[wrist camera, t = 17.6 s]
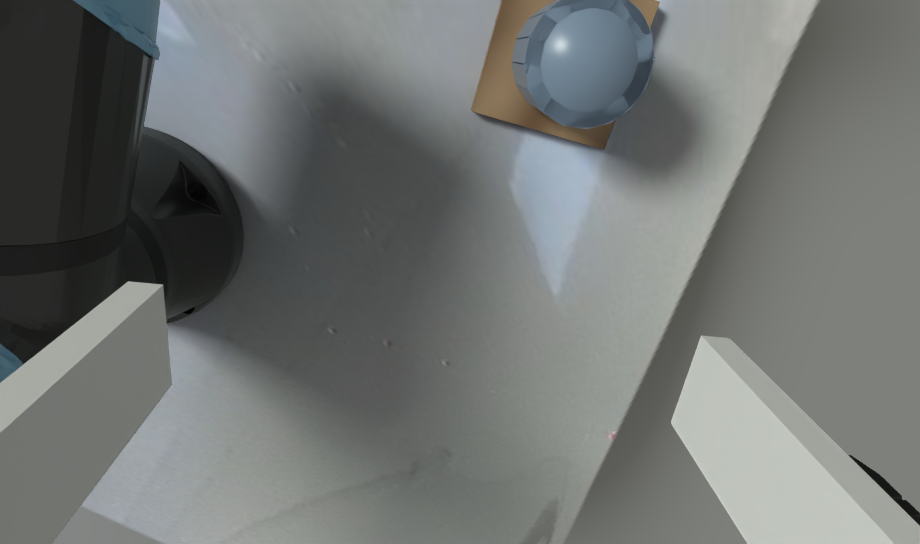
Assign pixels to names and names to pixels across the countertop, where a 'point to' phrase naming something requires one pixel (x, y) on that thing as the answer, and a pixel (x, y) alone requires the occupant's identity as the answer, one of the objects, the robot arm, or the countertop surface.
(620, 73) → the cap
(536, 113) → the wooden square stand
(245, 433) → the countertop surface
